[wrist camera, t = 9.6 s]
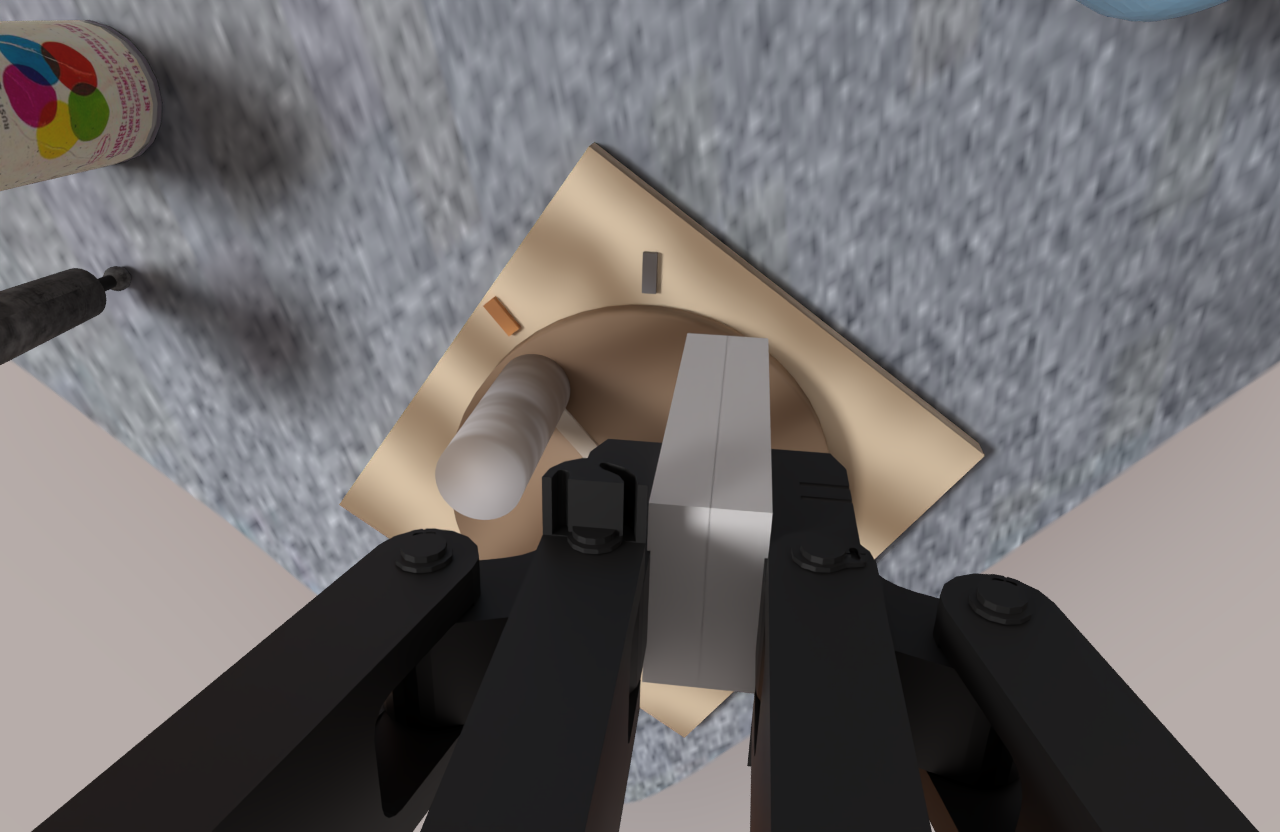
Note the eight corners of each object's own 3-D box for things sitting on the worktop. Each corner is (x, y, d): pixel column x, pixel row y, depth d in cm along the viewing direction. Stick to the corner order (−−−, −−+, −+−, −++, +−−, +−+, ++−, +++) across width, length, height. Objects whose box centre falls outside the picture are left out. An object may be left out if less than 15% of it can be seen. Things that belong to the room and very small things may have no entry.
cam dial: (908, 518, 49) (951, 665, 38) (622, 691, 55) (589, 858, 45) (667, 222, 44) (636, 291, 33) (387, 450, 51) (285, 571, 40)
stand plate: (594, 142, 45) (587, 147, 43) (978, 443, 48) (986, 459, 47) (349, 492, 54) (336, 508, 53) (686, 720, 58) (683, 742, 56)
